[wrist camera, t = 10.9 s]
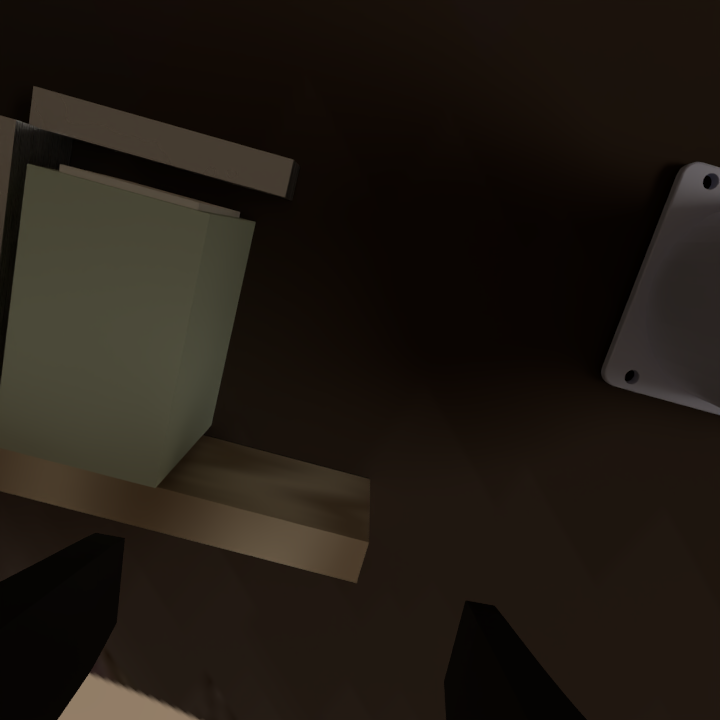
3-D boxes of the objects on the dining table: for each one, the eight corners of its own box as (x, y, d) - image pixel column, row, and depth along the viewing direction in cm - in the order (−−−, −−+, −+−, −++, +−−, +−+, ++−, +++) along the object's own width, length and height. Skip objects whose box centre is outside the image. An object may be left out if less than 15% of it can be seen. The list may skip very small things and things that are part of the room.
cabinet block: (257, 216, 19) (211, 206, 14) (212, 424, 21) (155, 488, 15) (127, 180, 19) (28, 155, 13) (92, 392, 21) (-7, 446, 15)
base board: (370, 479, 21) (368, 542, 16) (360, 512, 21) (356, 582, 17) (23, 387, 20) (-74, 426, 16) (18, 422, 21) (-78, 470, 16)
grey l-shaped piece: (300, 166, 18) (285, 151, 15) (235, 443, 21) (212, 476, 18) (61, 98, 18) (0, 70, 15) (23, 387, 20) (-37, 411, 17)
